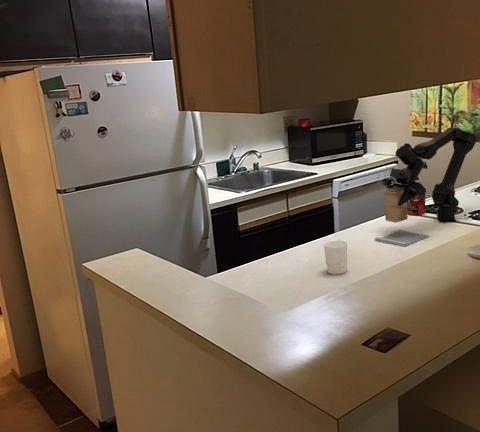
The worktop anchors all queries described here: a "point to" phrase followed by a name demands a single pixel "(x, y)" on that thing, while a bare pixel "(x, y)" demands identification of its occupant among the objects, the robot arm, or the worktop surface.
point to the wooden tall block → (394, 205)
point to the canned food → (416, 206)
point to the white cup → (336, 256)
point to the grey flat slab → (401, 238)
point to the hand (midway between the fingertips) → (393, 204)
